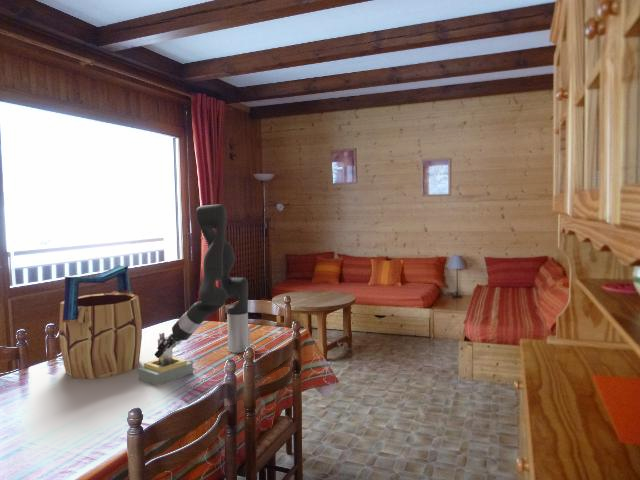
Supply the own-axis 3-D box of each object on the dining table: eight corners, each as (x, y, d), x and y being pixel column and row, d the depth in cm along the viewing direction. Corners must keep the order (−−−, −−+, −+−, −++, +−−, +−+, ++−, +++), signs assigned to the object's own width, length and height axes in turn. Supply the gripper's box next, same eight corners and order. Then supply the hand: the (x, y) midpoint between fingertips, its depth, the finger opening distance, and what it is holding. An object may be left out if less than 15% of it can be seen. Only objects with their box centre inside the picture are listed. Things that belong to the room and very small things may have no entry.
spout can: (167, 363, 185) (166, 330, 184) (175, 366, 181) (174, 332, 181) (156, 367, 180) (154, 333, 180) (164, 369, 177) (162, 335, 176)
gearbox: (182, 364, 194) (181, 351, 194) (200, 370, 187) (200, 356, 187) (138, 378, 178) (137, 364, 178) (157, 385, 171) (156, 370, 171)
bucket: (97, 352, 213) (93, 265, 211) (161, 354, 209) (157, 265, 206) (33, 383, 175) (27, 277, 172) (109, 387, 170) (104, 278, 168)
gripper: (191, 313, 184) (166, 341, 189) (169, 322, 171) (143, 352, 175) (203, 327, 183) (178, 355, 187) (182, 337, 169) (155, 367, 174)
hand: (161, 353), depth 181 cm, fingers open, 5 cm apart
